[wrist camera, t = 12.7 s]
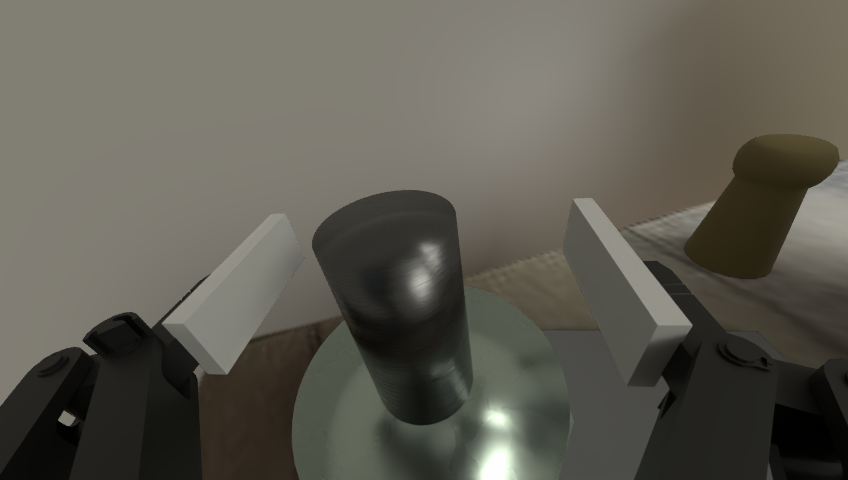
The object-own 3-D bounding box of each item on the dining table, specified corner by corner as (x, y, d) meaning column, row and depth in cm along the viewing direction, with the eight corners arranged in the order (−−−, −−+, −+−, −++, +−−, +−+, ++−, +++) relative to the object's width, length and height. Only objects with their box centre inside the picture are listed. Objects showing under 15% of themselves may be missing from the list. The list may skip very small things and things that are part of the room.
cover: (530, 334, 23) (544, 137, 14) (596, 612, 12) (807, 469, 4) (364, 338, 25) (292, 169, 16) (292, 576, 14) (-19, 435, 6)
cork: (747, 240, 29) (820, 125, 23) (788, 282, 25) (892, 152, 19) (674, 236, 31) (723, 127, 25) (699, 274, 27) (766, 152, 20)
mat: (753, 336, 21) (758, 331, 21) (1222, 827, 8) (1255, 833, 8) (520, 335, 23) (521, 330, 23) (599, 719, 10) (603, 721, 10)
